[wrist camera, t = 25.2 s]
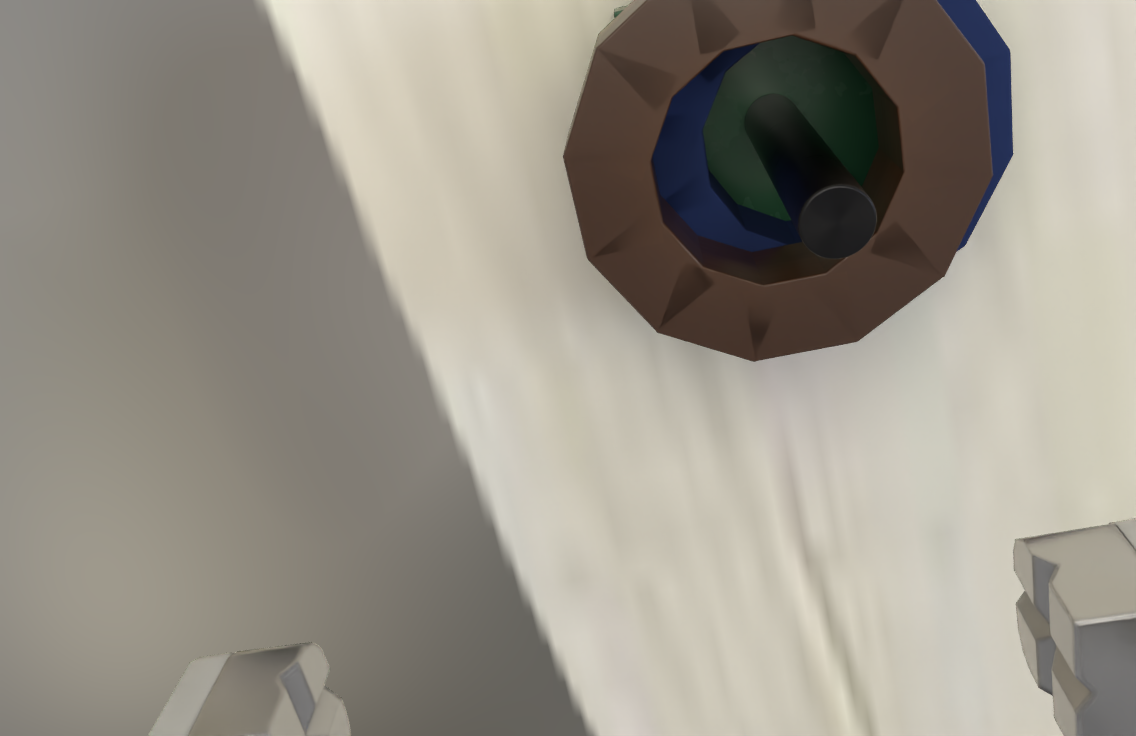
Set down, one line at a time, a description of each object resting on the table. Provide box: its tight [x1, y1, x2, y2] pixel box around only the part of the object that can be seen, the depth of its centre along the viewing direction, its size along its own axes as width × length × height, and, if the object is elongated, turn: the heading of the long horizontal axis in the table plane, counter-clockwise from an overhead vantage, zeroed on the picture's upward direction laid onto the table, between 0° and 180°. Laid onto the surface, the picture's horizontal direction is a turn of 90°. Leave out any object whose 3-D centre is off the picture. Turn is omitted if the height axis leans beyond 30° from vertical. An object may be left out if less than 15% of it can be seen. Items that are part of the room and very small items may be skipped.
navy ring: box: [653, 0, 1013, 252], centre depth 34 cm, size 12×12×3 cm
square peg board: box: [614, 6, 879, 259], centre depth 30 cm, size 9×9×13 cm
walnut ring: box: [563, 0, 993, 362], centre depth 31 cm, size 12×12×3 cm
